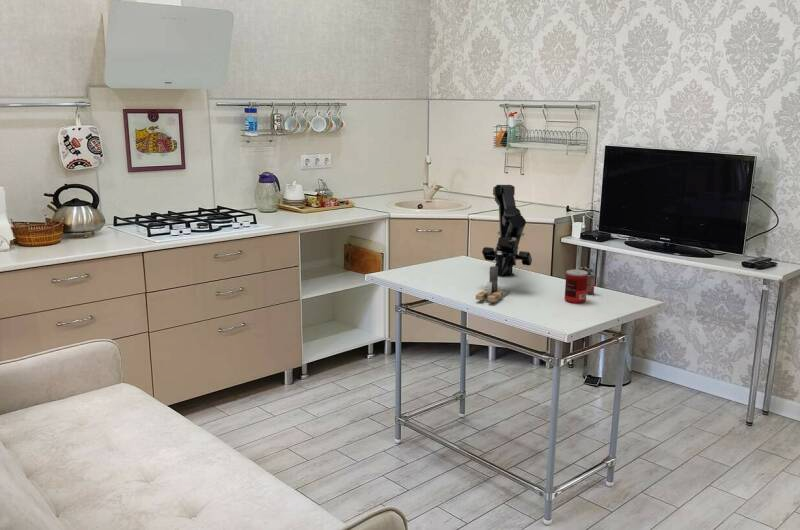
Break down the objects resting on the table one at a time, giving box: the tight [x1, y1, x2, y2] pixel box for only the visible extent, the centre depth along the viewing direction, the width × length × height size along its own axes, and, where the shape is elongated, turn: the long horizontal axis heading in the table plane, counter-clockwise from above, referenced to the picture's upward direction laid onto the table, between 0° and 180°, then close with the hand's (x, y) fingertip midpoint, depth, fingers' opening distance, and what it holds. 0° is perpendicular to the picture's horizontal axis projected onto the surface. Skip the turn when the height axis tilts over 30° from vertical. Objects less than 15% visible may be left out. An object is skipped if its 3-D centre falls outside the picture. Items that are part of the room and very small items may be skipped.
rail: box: [479, 282, 510, 304], centre depth 263 cm, size 16×6×7 cm, turn 153°
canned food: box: [564, 269, 589, 305], centre depth 259 cm, size 8×8×11 cm
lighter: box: [578, 266, 597, 296], centre depth 270 cm, size 8×3×10 cm, turn 47°
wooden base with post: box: [475, 265, 503, 302], centre depth 258 cm, size 10×7×11 cm
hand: (500, 274), depth 268 cm, fingers closed
